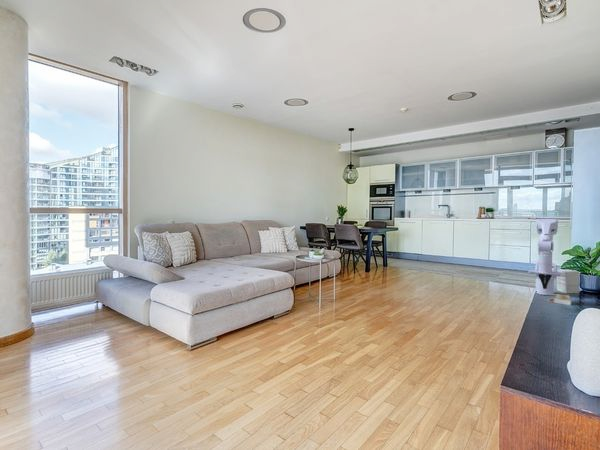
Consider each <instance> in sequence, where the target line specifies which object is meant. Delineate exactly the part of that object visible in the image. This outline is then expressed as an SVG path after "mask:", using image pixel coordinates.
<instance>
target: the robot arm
mask: <svg viewBox="0 0 600 450" xmlns="http://www.w3.org/2000/svg"><path fill="white" fill-rule="evenodd" d="M558 223H559V219H557V218H537V219H536V232H537V234H538V235H539V241H538V242H537V251H538V254H537V255H538V262H537V263H535V267H534V268H535V269H528V271H527V273H528V275H534V276H535V277H536V279H535V289H534V290H533V292H535V293H537V295H538V294H539V295H542V296H557V293H555V292H554V291H555V290H554V288H555V287H554V286H555V281H554V280H555V279H556V280H557V276H558V277H563V273H559V272H557V270H558V268H557V264H555V263H553V252H554V238H553V237H554V236H556V234H557V233H558V229H559V228H558ZM536 291H537V292H536Z"/></svg>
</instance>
